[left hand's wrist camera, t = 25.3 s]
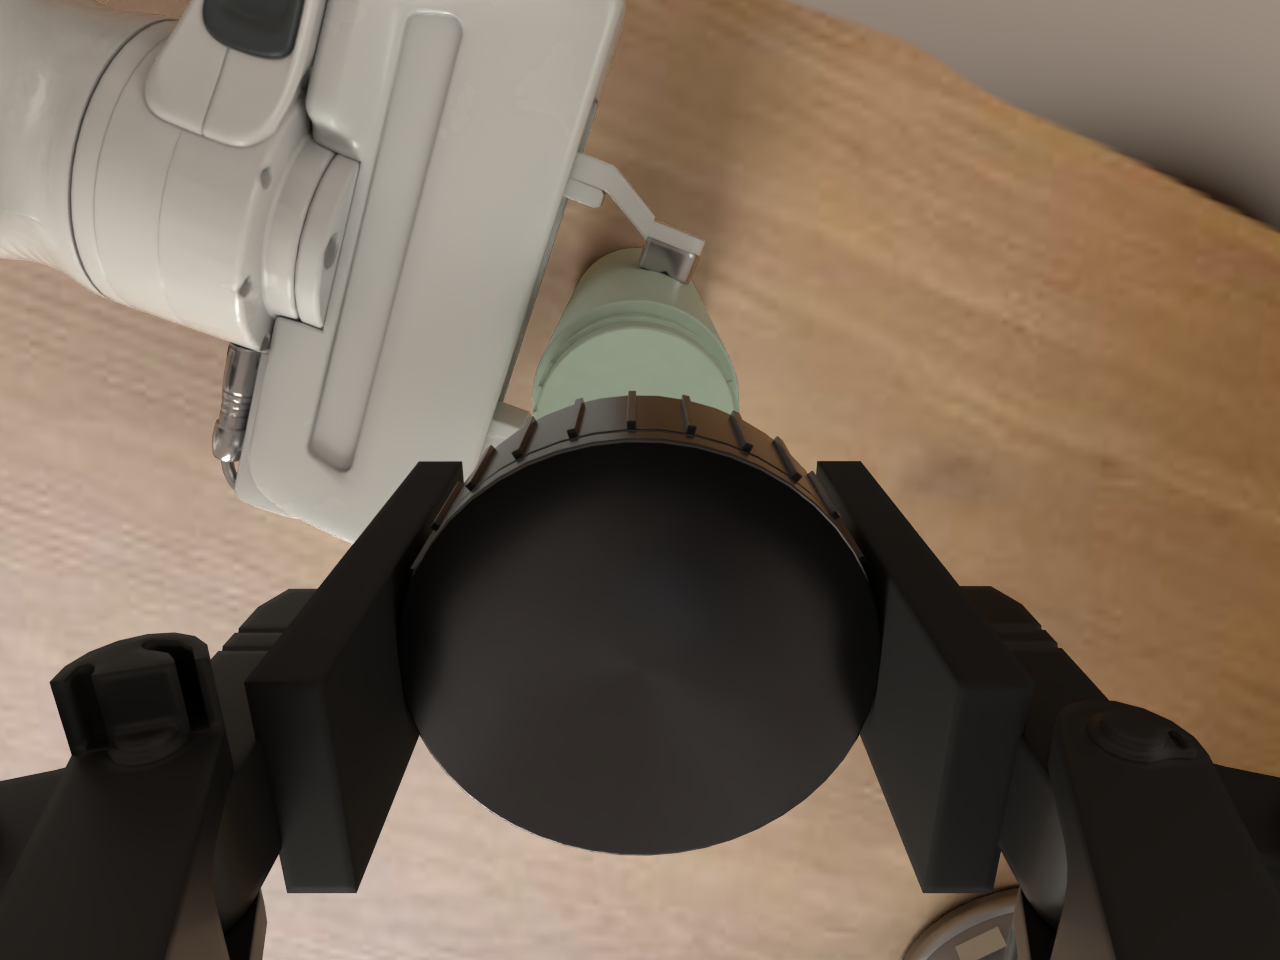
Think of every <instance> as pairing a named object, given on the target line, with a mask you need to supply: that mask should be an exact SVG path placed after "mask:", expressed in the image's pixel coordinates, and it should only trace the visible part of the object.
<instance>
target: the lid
mask: <svg viewBox="0 0 1280 960" xmlns="http://www.w3.org/2000/svg"><path fill="white" fill-rule="evenodd" d="M840 516H841V515H840V514H839V512H838V510H837V509H836V507H835V505H834V504H833V502H832V500H831V499H830V497H829V496H828V494H827V492H826V491H825V489H824V487H823V486H822V484H821V482H820V481H819V479H818V477H817V476H816V474H815V473H814V472H813V471H811V472H810V473H807V472H806V471H805V469H804V468H803V467H802V466H801V465H800V464H799V463H798V462H797V461H796V460H795V459H794V458H793V457H792V456H791V454H790V453H789V451H788V449H787V447H786V446H785V444H784V442H783V440H782V439H780V438H779V437H778V436H777V437H776V438H775V439H774V440H773V439H772V438H770V437H769V436H768V435H767V434H765V433H764V432H762V431H760V430H759V429H757V428H755V427H754V426H752V425H750V424H749V423H747V422H745V421H744V420H742V418H741V416H740V413H738V412H736V411H734V410H733V411H732V413H731V415H730V414H728V413H726V412H723V411H721V410H719V409H716V408H713V407H710V406H706V405H703V404H699V403H696V402H692V401H691V400H690V396H687V395H682V397H681V399H676V398H670V397H663V396H641V395H636V391H628V395H627V396H618V397H609V398H600V399H596V400H591V401H587V402H584V400H583V398H579V399H576V400H575V403H574V405H571V406H568V407H566V408H563V409H561V410H558V411H555V412H553V413H550V414H548V415H545V416H543V417H541V418H539V419H538V420H536V419H535V418H534V416H532V417H530V418H529V419H527V421H526V423H525V425H524V427H523V428H521V429H520V430H518V431H517V432H515V433H514V434H513V435H511V436H510V437H509V438H507V439H506V440H505V441H503V442H502V443H500V444H499V445H498V446H497V447H496V448H494V447H493V446H492V445H490V446H489V447H488V448H487V449H486V450H485V452H484V454H483V455H482V457H481V459H480V461H479V462H478V464H477V466H476V468H475V469H474V471H473V472H472V473H471V475H470V476H469V477H468V479H467V480H466V481H465V482H464V484H463V483H461V482H460V481H458V482H457V484H456V485H455V487H454V489H453V490H452V492H451V494H450V495H449V497H448V499H447V500H446V502H445V503H444V505H443V507H442V508H441V510H440V512H439V513H438V515H437V517H436V518H435V520H434V522H433V523H432V525H431V527H430V528H431V529H433V531H432V532H431V534H430V536H429V537H428V539H427V541H426V543H425V544H424V546H423V548H422V549H421V551H420V553H419V554H418V556H417V558H416V559H415V561H414V563H413V564H412V566H411V568H410V571H409V575H411V578H410V581H409V584H408V586H407V589H406V592H405V594H404V598H403V603H402V607H401V612H400V617H399V622H398V636H397V650H398V659H399V667H400V675H401V683H402V690H403V694H404V698H405V702H406V705H407V708H408V710H409V713H410V715H411V717H412V720H413V722H414V725H415V727H416V729H417V731H418V733H419V735H420V736H421V738H422V740H423V741H424V743H425V745H426V746H427V748H428V750H429V752H430V753H431V755H432V756H433V757H434V758H435V760H436V761H437V762H438V763H439V765H440V766H441V767H442V768H443V770H444V771H445V772H446V774H447V775H448V776H449V777H450V778H451V779H452V780H453V781H454V782H455V783H456V784H457V785H458V786H459V787H460V788H461V789H462V790H463V791H464V792H466V793H467V794H468V795H469V796H470V797H472V798H473V799H474V800H476V801H477V802H478V803H479V804H481V805H482V806H483V807H485V808H486V809H487V810H489V811H490V812H492V813H493V814H495V815H497V816H498V817H500V818H502V819H503V820H505V821H507V822H508V823H510V824H512V825H514V826H516V827H518V828H520V829H522V830H525V831H527V832H529V833H531V834H533V835H536V836H538V837H541V838H544V839H547V840H550V841H553V842H556V843H559V844H562V845H565V846H569V847H573V848H578V849H582V850H587V851H591V852H599V853H608V854H616V855H660V854H672V853H680V852H686V851H691V850H696V849H701V848H706V847H710V846H713V845H716V844H720V843H723V842H726V841H730V840H733V839H735V838H738V837H740V836H742V835H745V834H747V833H749V832H752V831H754V830H757V829H759V828H761V827H762V826H764V825H766V824H768V823H770V822H771V821H773V820H775V819H777V818H779V817H780V816H782V815H784V814H785V813H787V812H788V811H789V810H791V809H792V808H794V807H795V806H796V805H798V804H799V803H801V802H802V801H803V800H805V799H806V798H807V797H808V796H809V795H810V794H812V793H813V792H814V791H815V790H816V789H817V788H818V787H819V786H820V785H821V784H822V783H824V782H825V781H826V780H827V778H828V777H829V776H830V775H831V774H832V773H833V771H834V770H835V769H836V768H837V767H838V766H839V764H840V763H841V762H842V761H843V760H844V758H845V757H846V755H847V753H848V752H849V750H850V749H851V747H852V746H853V744H854V743H855V741H856V740H857V738H858V736H859V734H860V732H861V730H862V728H863V726H864V723H865V721H866V719H867V717H868V715H869V713H870V709H871V706H872V703H873V700H874V696H875V693H876V690H877V684H878V676H879V668H880V660H881V645H882V640H881V625H880V619H879V613H878V607H877V602H876V599H875V596H874V593H873V590H872V587H871V584H870V581H869V578H868V575H867V573H866V571H865V569H864V567H863V565H862V563H864V562H866V560H865V558H864V555H863V554H862V552H861V550H860V549H859V547H858V545H857V544H856V542H855V540H854V539H853V537H852V535H851V534H850V532H849V530H848V529H847V527H846V525H845V524H844V522H843V520H842V519H841V517H840Z"/></svg>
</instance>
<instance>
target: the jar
mask: <svg viewBox="0 0 1280 960" xmlns="http://www.w3.org/2000/svg"><path fill="white" fill-rule="evenodd" d="M641 251H642V248H626V249H621V250H617V251H614V252H612V253H609V254H607V255H605V256H603V257H602V258H600V259H599V260H597V261H596V262H595V263H593V264H592V265H591V266H590V267H589V268H588V269H587V271H586V272H585V273H584V274H583V276H582V277H581V279H580V281H579V283H578V284H577V286H576V288H575V290H574V292H573V294H572V297H571V299H570V301H569V303H568V305H567V307H566V309H565V311H564V313H563V315H562V317H561V319H560V321H559V323H558V325H557V327H556V329H555V331H554V333H553V335H552V337H551V339H550V341H549V343H548V345H547V347H546V349H545V351H544V353H543V355H542V358H541V360H540V363H539V365H538V368H537V371H536V375H535V379H534V384H533V393H532V403H533V416H534V418H535V419H536V420H538V419H539V418H541V417H543V416H545V415H548V414H550V413H553V412H555V411H558V410H561V409H563V408H566V407H568V406H571V405H574V403H575V400H576V399H579V398H583V400H584V402H587V401H591V400H596V399H600V398H609V397H618V396H627V395H628V391H636V395H641V396H663V397H670V398H676V399H681V397H682V395H687V396H690V400H691V401H692V402H696V403H699V404H703V405H706V406H710V407H713V408H716V409H719V410H721V411H723V412H726V413H728V414H730V415H731V413H732V411H733V410H734V411H736V412H738V413H739V389H738V382H737V377H736V373H735V370H734V367H733V364H732V361H731V359H730V357H729V355H728V353H727V351H726V349H725V347H724V345H723V343H722V341H721V339H720V337H719V335H718V333H717V331H716V329H715V327H714V325H713V323H712V321H711V319H710V317H709V315H708V313H707V311H706V309H705V307H704V305H703V303H702V301H701V299H700V296H699V294H698V292H697V290H696V288H695V286H694V284H693V282H692V281H691V279H690V282H689V284H685V283H682V282H679V281H677V280H675V279H673V278H671V277H669V275H668V274H667V272H666V271H665V272H661V273H658V272H654V271H650V270H648V269H645V268H643V267H640V266H639V265H638V264H639V262H638V260H639V257H640V254H641Z"/></svg>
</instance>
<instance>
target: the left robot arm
mask: <svg viewBox="0 0 1280 960" xmlns="http://www.w3.org/2000/svg"><path fill="white" fill-rule="evenodd" d="M816 476H817V477H818V479H819V481H820V482H821V484H822V486H823V487H824V489H825V491H826V492H827V494H828V496H829V497H830V499H831V500H832V502H833V504H834V505H835V507H836V509H837V510H838V512H839V514H840V515H841V516H840V517H841V519H842V520H843V522H844V524H845V525H846V527H847V529H848V530H849V532H850V534H851V535H852V537H853V539H854V540H855V542H856V544H857V545H858V547H859V549H860V550H861V552H862V554H863V555H864V558H865V560H866V562H864V563H862V565H863V567H864V569H865V571H866V573H867V575H868V578H869V581H870V584H871V587H872V590H873V593H874V596H875V599H876V602H877V607H878V613H879V619H880V625H881V640H882V645H881V660H880V668H879V676H878V684H877V690H876V693H875V696H874V700H873V703H872V706H871V709H870V713H869V715H868V717H867V719H866V721H865V723H864V726H863V728H862V730H861V732H860V736H861V739H862V741H863V744H864V746H865V749H866V751H867V754H868V756H869V759H870V761H871V764H872V766H873V769H874V771H875V774H876V776H877V779H878V781H879V784H880V786H881V789H882V791H883V794H884V796H885V799H886V801H887V804H888V806H889V809H890V811H891V814H892V816H893V819H894V821H895V824H896V826H897V829H898V831H899V834H900V836H901V839H902V841H903V844H904V846H905V849H906V851H907V854H908V856H909V859H910V861H911V864H912V866H913V869H914V871H915V874H916V876H917V879H918V881H919V884H920V887H921V889H922V892H923V893H992V892H993V887H994V882H995V877H996V872H997V867H998V863H999V858H1000V853H1001V852H1002V853H1003V855H1004V857H1005V859H1006V861H1007V863H1008V864H1009V866H1010V868H1011V870H1012V872H1013V874H1014V876H1015V877H1016V879H1017V881H1018V883H1019V885H1020V887H1019V888H1015V889H1010V890H1005V891H1001V892H997V893H994V894H990V895H987V896H984V897H981V898H979V899H976V900H973V901H971V902H969V903H967V904H964V905H962V906H960V907H959V908H957V909H955V910H953V911H951V912H950V913H948V914H946V915H945V916H943V917H942V918H940V919H939V920H938V921H936V922H935V923H934V924H932V925H931V926H930V927H929V928H928V929H927V930H925V931H924V932H923V933H922V934H921V935H920V936H919V937H918V939H917V940H916V941H915V942H914V943H913V944H912V946H911V947H910V948H909V950H908V951H907V953H906V955H905V956H904V958H903V960H1280V778H1279V777H1274V776H1269V775H1264V774H1259V773H1254V772H1249V771H1244V770H1239V769H1234V768H1229V767H1225V766H1221V765H1217V764H1213V762H1212V760H1211V758H1210V756H1209V755H1208V753H1207V752H1206V751H1205V750H1204V748H1203V747H1202V746H1201V745H1200V743H1199V742H1198V741H1197V740H1196V739H1195V737H1194V736H1192V735H1191V734H1189V733H1188V732H1187V731H1185V730H1184V729H1182V728H1181V727H1179V726H1178V725H1177V724H1175V723H1174V722H1172V721H1170V720H1168V719H1166V718H1164V717H1162V716H1159V715H1157V714H1155V713H1153V712H1150V711H1148V710H1146V709H1144V708H1140V707H1136V706H1132V705H1128V704H1124V703H1121V702H1117V701H1109V700H1108V699H1107V698H1106V697H1105V695H1104V694H1103V693H1102V692H1101V691H1100V690H1099V689H1098V688H1097V687H1096V685H1095V684H1094V683H1093V682H1092V681H1091V680H1090V679H1089V678H1088V677H1087V676H1086V674H1085V673H1084V672H1083V671H1082V670H1081V669H1080V668H1079V667H1078V666H1077V665H1076V663H1075V662H1074V661H1073V660H1072V659H1071V658H1070V657H1069V656H1068V655H1067V654H1066V652H1065V651H1064V650H1063V649H1062V648H1058V646H1057V642H1056V641H1055V640H1054V639H1053V638H1052V637H1051V636H1050V635H1049V634H1048V633H1047V631H1046V630H1042V629H1041V625H1040V624H1039V623H1038V622H1037V620H1036V619H1035V618H1034V617H1033V616H1032V615H1031V614H1030V613H1029V612H1028V611H1027V609H1026V608H1025V607H1024V606H1023V605H1022V604H1020V603H1019V602H1017V601H1015V600H1014V599H1012V598H1010V597H1008V596H1007V595H1005V594H1003V593H1002V592H1000V591H998V590H996V589H995V588H993V587H991V586H959V585H958V583H957V582H956V581H955V580H954V578H953V577H952V576H951V575H950V573H949V572H948V571H947V570H946V568H945V567H944V566H943V565H942V563H941V562H940V561H939V559H938V558H937V557H936V556H935V554H934V553H933V552H932V551H931V549H930V548H929V547H928V546H927V544H926V543H925V542H924V541H923V539H922V538H921V537H920V536H919V534H918V533H917V532H916V530H915V529H914V528H913V527H912V525H911V524H910V523H909V522H908V520H907V519H906V518H905V517H904V515H903V514H902V513H901V512H900V510H899V509H898V508H897V507H896V505H895V504H894V503H893V501H892V500H891V499H890V498H889V496H888V495H887V494H886V493H885V491H884V490H883V489H882V488H881V486H880V485H879V484H878V483H877V481H876V480H875V479H874V478H873V476H872V475H871V474H870V472H869V471H868V470H867V469H866V467H865V466H864V465H863V464H862V462H861V461H817V471H816ZM458 481H460V482H461V483H463V484H464V477H463V465H462V461H419V462H418V463H417V464H416V466H415V467H414V468H413V469H412V471H411V472H410V473H409V474H408V476H407V477H406V478H405V479H404V481H403V482H402V483H401V484H400V486H399V487H398V488H397V489H396V491H395V492H394V493H393V495H392V496H391V497H390V498H389V500H388V501H387V502H386V503H385V505H384V506H383V507H382V508H381V510H380V511H379V512H378V513H377V515H376V516H375V517H374V518H373V520H372V521H371V522H370V524H369V525H368V526H367V527H366V529H365V530H364V531H363V532H362V534H361V535H360V536H359V537H358V539H357V540H356V541H355V542H354V544H353V545H352V546H351V547H350V549H349V550H348V551H347V553H346V554H345V555H344V556H343V558H342V559H341V560H340V561H339V563H338V564H337V565H336V566H335V568H334V569H333V570H332V571H331V573H330V574H329V575H328V576H327V578H326V579H325V580H324V581H323V583H322V584H321V585H320V587H319V588H318V589H288V590H286V591H285V592H283V593H281V594H280V595H278V596H276V597H274V598H273V599H271V600H269V601H268V602H266V603H264V604H263V605H261V606H259V607H258V608H257V609H256V610H255V611H254V612H253V613H252V614H251V615H250V617H249V618H248V619H247V620H246V621H245V622H244V623H243V624H242V625H241V627H240V628H239V632H238V633H234V634H233V635H232V637H231V638H230V639H229V640H228V641H227V642H226V643H225V644H224V645H223V649H222V651H218V652H217V653H216V654H215V655H214V657H213V658H212V659H211V660H210V656H209V651H208V646H207V644H205V643H204V642H203V641H201V640H200V639H198V638H197V637H196V636H191V635H186V634H180V633H159V634H146V635H142V636H137V637H133V638H129V639H124V640H120V641H116V642H114V643H111V644H109V645H106V646H103V647H101V648H98V649H96V650H93V651H90V652H88V653H87V654H85V655H83V656H82V657H80V658H78V659H77V660H75V661H73V662H72V663H70V664H68V665H66V666H65V667H64V668H63V669H62V670H61V671H60V672H59V673H58V674H57V675H56V676H55V677H54V678H53V679H52V680H51V681H50V685H51V689H52V692H53V695H54V698H55V702H56V705H57V708H58V711H59V715H60V718H61V721H62V724H63V728H64V731H65V734H66V738H67V741H68V744H69V747H70V751H71V754H72V756H71V758H70V760H69V762H68V764H67V766H66V768H62V769H58V770H54V771H49V772H44V773H39V774H34V775H29V776H24V777H19V778H14V779H9V780H4V781H0V960H262V957H263V949H264V942H265V934H266V926H267V919H266V912H265V905H264V900H263V896H262V891H261V886H262V884H263V883H264V881H265V879H266V877H267V875H268V873H269V871H270V869H271V868H272V866H273V864H274V862H275V860H276V858H277V856H278V855H279V856H280V860H281V865H282V870H283V875H284V880H285V885H286V890H287V893H357V890H358V888H359V885H360V883H361V880H362V878H363V875H364V873H365V870H366V868H367V865H368V863H369V860H370V858H371V855H372V853H373V850H374V848H375V845H376V843H377V840H378V838H379V835H380V833H381V830H382V828H383V825H384V823H385V820H386V818H387V815H388V812H389V810H390V807H391V805H392V802H393V800H394V797H395V795H396V792H397V790H398V787H399V785H400V782H401V780H402V777H403V775H404V772H405V770H406V767H407V765H408V762H409V760H410V757H411V755H412V752H413V750H414V747H415V745H416V742H417V740H418V737H419V733H418V731H417V729H416V727H415V725H414V722H413V720H412V717H411V715H410V713H409V710H408V708H407V705H406V702H405V698H404V694H403V690H402V683H401V675H400V667H399V659H398V650H397V636H398V622H399V617H400V612H401V607H402V603H403V598H404V594H405V592H406V589H407V586H408V584H409V581H410V578H411V575H409V571H410V568H411V566H412V564H413V563H414V561H415V559H416V558H417V556H418V554H419V553H420V551H421V549H422V548H423V546H424V544H425V543H426V541H427V539H428V537H429V536H430V534H431V532H432V531H433V529H431V528H430V527H431V525H432V523H433V522H434V520H435V518H436V517H437V515H438V513H439V512H440V510H441V508H442V507H443V505H444V503H445V502H446V500H447V499H448V497H449V495H450V494H451V492H452V490H453V489H454V487H455V485H456V484H457V482H458Z"/></svg>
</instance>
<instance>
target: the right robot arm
mask: <svg viewBox="0 0 1280 960" xmlns="http://www.w3.org/2000/svg"><path fill="white" fill-rule="evenodd" d="M625 18H626V3H625V0H190V2H189V4H188V5H187V7H186V9H185V11H184V12H183V14H182V16H181V17H180V19H175V18H172V17H168V16H164V15H159V14H149V13H136V12H128V11H123V10H117V9H114V8H111V7H108V6H106V5H103V4H101V3H99V2H97V1H95V0H0V258H5V259H20V260H29V261H34V262H39V263H42V264H44V265H47V266H50V267H52V268H55V269H57V270H59V271H61V272H62V273H64V274H66V275H67V276H69V277H70V278H72V279H73V280H74V281H76V282H77V283H79V284H80V285H82V286H83V287H85V288H87V289H88V290H90V291H91V292H93V293H95V294H97V295H99V296H101V297H103V298H106V299H108V300H111V301H113V302H116V303H119V304H122V305H125V306H128V307H131V308H134V309H137V310H140V311H143V312H146V313H149V314H152V315H154V316H157V317H160V318H163V319H166V320H169V321H172V322H175V323H178V324H180V325H183V326H186V327H189V328H192V329H194V330H197V331H200V332H203V333H206V334H208V335H211V336H214V337H217V338H220V339H223V340H226V341H229V342H230V343H229V347H228V353H227V360H226V365H225V371H224V377H223V386H222V388H223V389H222V403H221V410H220V415H219V419H217V421H216V423H215V426H214V431H213V435H212V451H213V455H214V457H216V458H217V459H219V460H221V464H222V470H223V473H224V475H225V477H226V479H227V481H228V483H229V485H230V486H231V487H232V488H233V490H234V492H235V494H236V496H237V497H238V498H239V499H241V500H242V501H244V502H246V503H247V504H249V505H251V506H254V507H257V508H260V509H263V510H266V511H269V512H273V513H276V514H279V515H282V516H285V517H289V518H296V519H299V520H301V521H303V522H305V523H307V524H309V525H311V526H313V527H315V528H317V529H319V530H321V531H323V532H325V533H328V534H330V535H332V536H334V537H336V538H338V539H340V540H343V541H345V542H347V543H350V544H352V545H353V544H354V542H355V541H356V540H357V539H358V537H359V536H360V535H361V534H362V532H363V531H364V530H365V529H366V527H367V526H368V525H369V524H370V522H371V521H372V520H373V518H374V517H375V516H376V515H377V513H378V512H379V511H380V510H381V508H382V507H383V506H384V505H385V503H386V502H387V501H388V500H389V498H390V497H391V496H392V495H393V493H394V492H395V491H396V489H397V488H398V487H399V486H400V484H401V483H402V482H403V481H404V479H405V478H406V477H407V476H408V474H409V473H410V472H411V471H412V469H413V468H414V467H415V466H416V464H417V463H418V462H419V461H462V465H463V477H464V482H465V481H466V480H467V479H468V477H469V476H470V475H471V473H472V472H473V471H474V469H475V468H476V466H477V464H478V462H479V461H480V459H481V457H482V455H483V454H484V452H485V450H486V449H487V448H488V447H489V446H490V445H492V446H493V447H494V448H496V447H497V446H498V445H499V444H500V443H502V442H503V441H505V440H506V439H507V438H509V437H510V436H511V435H513V434H514V433H515V432H517V431H518V430H520V429H521V428H523V427H524V425H525V423H526V421H527V419H529V418H530V417H531V414H530V412H528V411H526V410H523V409H520V408H517V407H515V406H512V405H509V404H506V403H504V402H503V400H504V397H505V394H506V391H507V388H508V384H509V381H510V378H511V375H512V372H513V369H514V366H515V363H516V360H517V356H518V353H519V350H520V347H521V344H522V341H523V338H524V335H525V331H526V328H527V325H528V322H529V319H530V316H531V313H532V310H533V307H534V303H535V300H536V297H537V294H538V291H539V288H540V285H541V282H542V278H543V275H544V272H545V269H546V266H547V263H548V260H549V257H550V253H551V250H552V247H553V244H554V241H555V238H556V235H557V232H558V229H559V225H560V222H561V219H562V216H563V213H564V210H565V207H566V204H567V200H568V199H571V200H573V201H576V202H579V203H581V204H584V205H587V206H589V207H592V208H595V209H596V208H598V207H600V206H601V205H602V204H603V201H604V198H605V195H606V192H607V193H608V195H609V196H610V197H611V198H612V199H613V201H614V202H615V203H616V204H617V206H618V207H619V208H620V209H621V211H622V212H623V213H624V214H625V216H626V217H627V218H628V219H629V221H630V222H631V223H632V224H633V225H634V227H635V228H636V229H637V230H638V232H639V233H640V234H641V235H642V237H643V238H644V239H645V242H644V245H643V248H642V251H641V254H640V257H639V260H638V262H639V264H638V265H639V266H640V267H643V268H645V269H648V270H650V271H654V272H658V273H661V272H665V271H666V272H667V274H668V275H669V277H671V278H673V279H675V280H677V281H679V282H682V283H685V284H689V282H690V279H691V277H692V275H693V272H694V270H695V267H696V265H697V262H698V260H699V257H700V254H701V252H702V249H703V247H704V244H705V242H706V241H705V240H704V239H703V238H701V237H699V236H697V235H695V234H693V233H690V232H687V231H685V230H682V229H680V228H677V227H675V226H672V225H670V224H667V223H665V222H662V221H660V220H657V219H655V216H654V213H653V212H652V211H651V210H650V208H649V207H648V206H647V205H646V203H645V202H644V201H643V200H642V198H641V197H640V196H639V194H638V193H637V192H636V191H635V189H634V188H633V187H632V186H631V184H630V183H629V182H628V180H627V179H626V178H625V177H624V175H623V174H622V173H621V172H620V170H619V169H618V168H617V166H615V165H613V164H610V163H608V162H605V161H603V160H600V159H598V158H595V157H593V156H590V155H588V154H585V153H583V151H584V147H585V144H586V141H587V138H588V135H589V132H590V129H591V126H592V123H593V119H594V116H595V113H596V110H597V107H598V104H599V101H600V98H601V94H602V91H603V88H604V85H605V82H606V79H607V76H608V73H609V70H610V66H611V63H612V60H613V57H614V54H615V51H616V48H617V44H618V41H619V38H620V35H621V32H622V29H623V26H624V22H625ZM605 191H606V192H605ZM239 460H240V461H239ZM235 461H239V466H238V471H237V472H236V470H235V466H234V462H235Z"/></svg>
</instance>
